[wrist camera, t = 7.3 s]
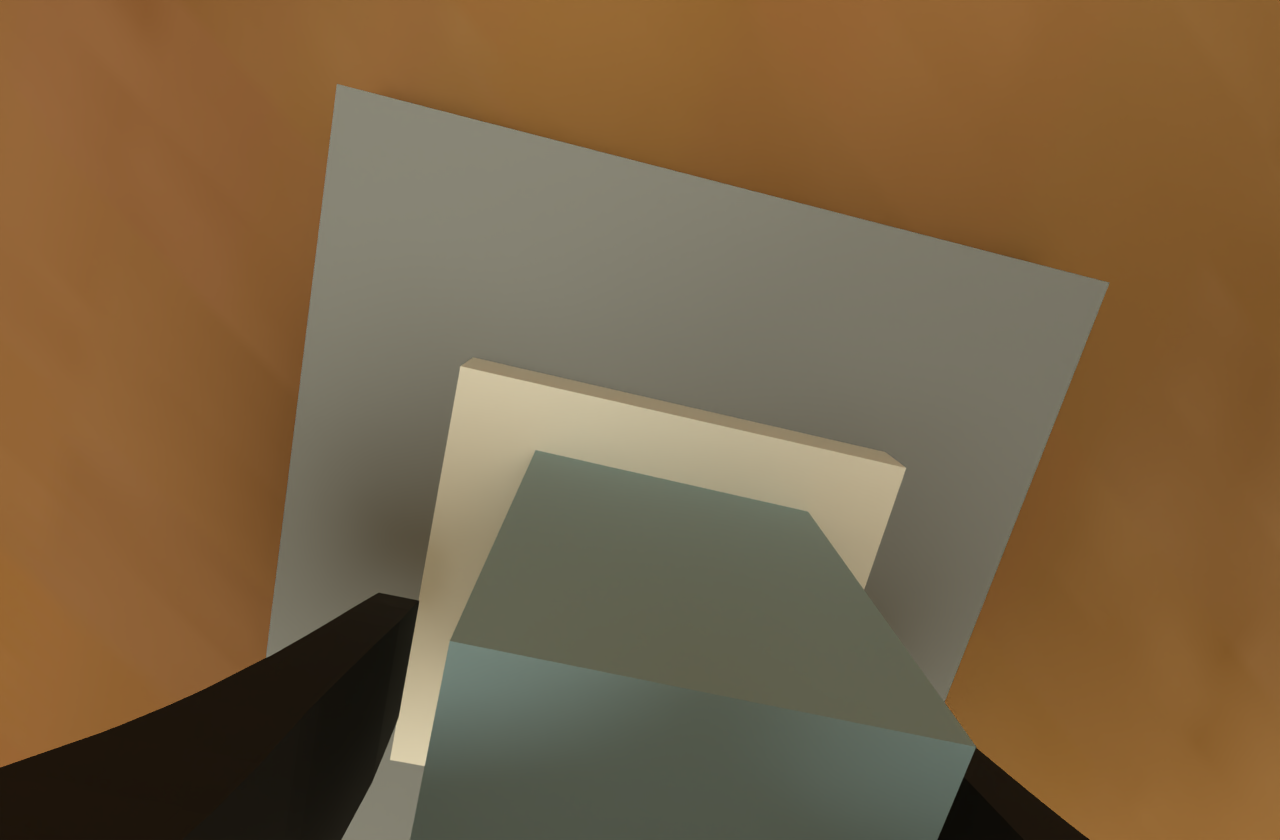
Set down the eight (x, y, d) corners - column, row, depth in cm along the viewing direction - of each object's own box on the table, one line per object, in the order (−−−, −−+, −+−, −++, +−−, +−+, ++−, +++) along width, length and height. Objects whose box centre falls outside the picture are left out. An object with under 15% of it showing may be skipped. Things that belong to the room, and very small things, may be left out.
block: (807, 511, 12) (976, 746, 6) (733, 743, 13) (818, 1122, 8) (535, 450, 12) (450, 640, 6) (482, 693, 13) (367, 1054, 7)
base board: (1043, 278, 14) (1151, 284, 11) (821, 878, 18) (859, 999, 15) (379, 108, 13) (310, 67, 10) (286, 783, 17) (215, 894, 14)
